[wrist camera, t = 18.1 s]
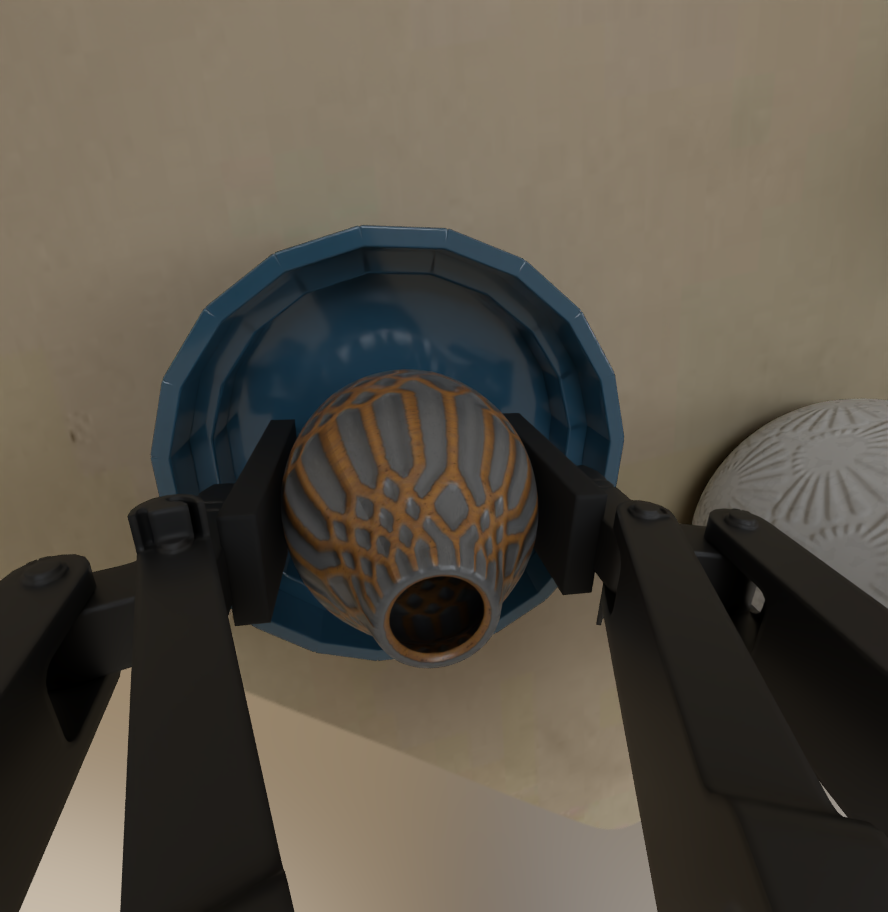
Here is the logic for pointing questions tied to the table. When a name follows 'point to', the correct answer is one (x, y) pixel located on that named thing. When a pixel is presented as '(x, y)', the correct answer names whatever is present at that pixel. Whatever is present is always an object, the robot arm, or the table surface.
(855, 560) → the planter
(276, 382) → the bowl
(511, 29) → the table surface
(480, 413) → the vase
